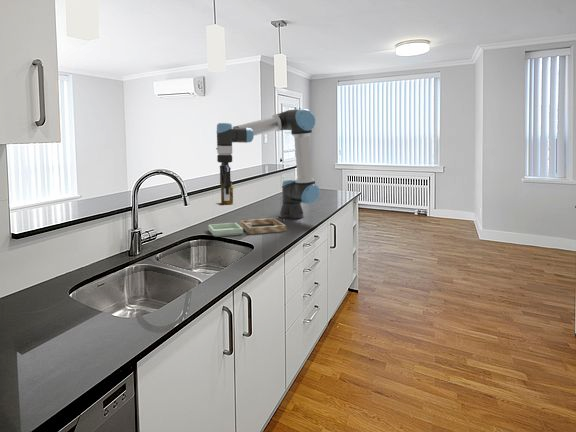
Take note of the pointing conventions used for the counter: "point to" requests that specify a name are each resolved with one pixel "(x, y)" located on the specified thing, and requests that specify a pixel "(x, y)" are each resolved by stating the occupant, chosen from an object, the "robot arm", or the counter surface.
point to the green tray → (225, 229)
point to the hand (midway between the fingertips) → (225, 199)
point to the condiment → (223, 196)
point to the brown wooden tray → (263, 229)
